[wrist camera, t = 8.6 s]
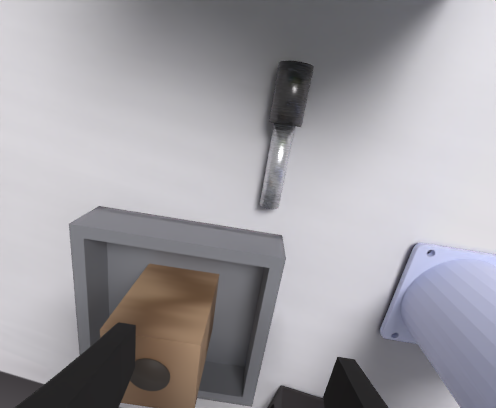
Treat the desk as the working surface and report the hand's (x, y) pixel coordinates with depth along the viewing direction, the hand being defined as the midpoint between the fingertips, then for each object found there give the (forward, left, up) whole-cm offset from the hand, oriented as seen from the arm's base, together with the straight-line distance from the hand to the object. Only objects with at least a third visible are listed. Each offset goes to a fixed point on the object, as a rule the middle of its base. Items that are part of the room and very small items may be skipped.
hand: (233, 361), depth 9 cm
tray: (+4, +6, -9) cm, 12 cm away
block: (+4, +5, -9) cm, 11 cm away
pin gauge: (-1, -7, -9) cm, 12 cm away
